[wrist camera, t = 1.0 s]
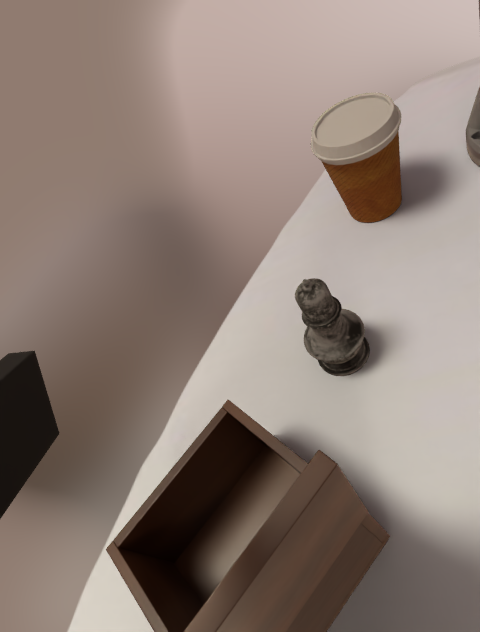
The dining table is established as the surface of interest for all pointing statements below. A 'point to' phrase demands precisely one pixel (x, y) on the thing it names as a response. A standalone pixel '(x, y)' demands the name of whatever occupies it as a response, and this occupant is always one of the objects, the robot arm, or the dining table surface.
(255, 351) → the dining table surface
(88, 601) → the dining table surface
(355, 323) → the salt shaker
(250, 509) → the tea box
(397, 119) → the disposable coffee cup
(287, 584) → the lid
